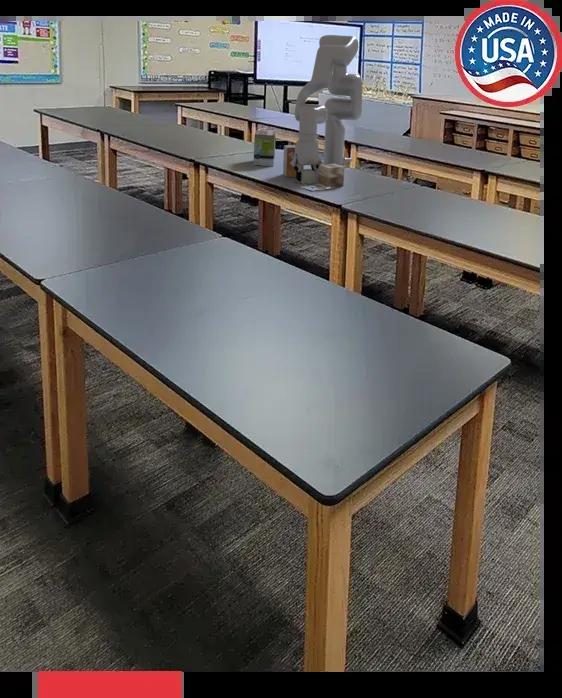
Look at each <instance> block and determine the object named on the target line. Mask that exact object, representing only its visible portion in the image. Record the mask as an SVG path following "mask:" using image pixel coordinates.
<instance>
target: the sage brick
mask: <svg viewBox="0 0 562 698" xmlns="http://www.w3.org/2000/svg"><path fill="white" fill-rule="evenodd" d="M295 180H296V182H297V179H296V178H295ZM298 183H299V181H298ZM301 183H302V184H301ZM305 183H310V184H315V183H316V175H315V171H313V170H312V169H311V168H303V169H301V182H300V184H301V185H306V184H305Z"/></svg>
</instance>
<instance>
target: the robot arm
mask: <svg viewBox="0 0 562 698" xmlns="http://www.w3.org/2000/svg"><path fill="white" fill-rule="evenodd" d="M318 44H319V45H318V46H319V47H318V48H317V51H316V56H315V60H314V65H313V70H312V76H311V79H310V80H309V81H308V82H307V83H306V84H305V85H304V86H303V87H302V88H301V90H300V91H299V93H298V95H297V97H296V102H295V103H296V104H295V108H294V118H295V120H296V121H298V122H299V127H298V140H297V141H296V144H295V145H296V147H295V153H294V159H293V160H292V161H291V162H290V165H291V166H292V167H293V168H294V169H295V171H296V177H295V180H296V179H297V181H299V182H301V169H302V166H310V170H313V171H315V176H316V173H317V171H318V170H319V165H321V164H337V165H340V166H343V167H345V168H346V167H347V166H346V165H347V164H346V163H351V162H352V161H353V160H352V158H351V157H345V156H344V150H345V138H346V137H345V136H346V135H345V134H346V127H345V124H344V122H343V121H358V120H359V119H360V118H361V116H362V110H363V80H362V77H361V76H360V75H359V74H356V73H348V72H347V67H349V65H350V64H351V62H352V61H353V60H354V58H355V57H356V55H357V54H358V50H359V41H358V39H357V37H356V36H353V35H339V34H338V35H337V34H336V35H335V34H327V35H322V36H320V38H319V40H318ZM326 88H327V90H328V93H329V94H330V95H334V96H340V97H330V98H327V99H326V100H325V102H324V105H322V104H310V103H309V104H308V103H306V101H307V99H308V98H309V97H310V96H311V95H313V94H314V93H316V92H319V91H321V90H324V89H326ZM342 96H344V97H342ZM346 97H347V98H346ZM348 97H350V98H348ZM342 120H343V121H342ZM324 123H325V127H324V128H325V129H324V146H323V160H322V159H321V157H320V156H319V155H320V153H319V152H320V151H319V142H318V138H320V135H319V134H318V124H319V125H322V124H324ZM295 164H297V166H296V165H295ZM297 181H296V182H297ZM299 182H298V183H299Z"/></svg>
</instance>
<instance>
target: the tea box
mask: <svg viewBox="0 0 562 698" xmlns="http://www.w3.org/2000/svg"><path fill="white" fill-rule="evenodd" d="M276 133H277V132H276V131H275V130H258V129H257V130H255V133H254V137H253V138H254V140H253V144H254V145H253V166H256V165H262V166H261V167H274V163H275V155H276Z"/></svg>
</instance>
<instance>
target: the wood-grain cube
mask: <svg viewBox="0 0 562 698" xmlns="http://www.w3.org/2000/svg"><path fill="white" fill-rule="evenodd" d="M345 169H346V167H343V166H340V165H337V164H321V165H319V168H318V176H317V179H318V180H317V184H318V183H319V184H322V185H324V186H327V187H329V186H337V187H344V182H345V180H344V179H345ZM319 184H318V185H319Z"/></svg>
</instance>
